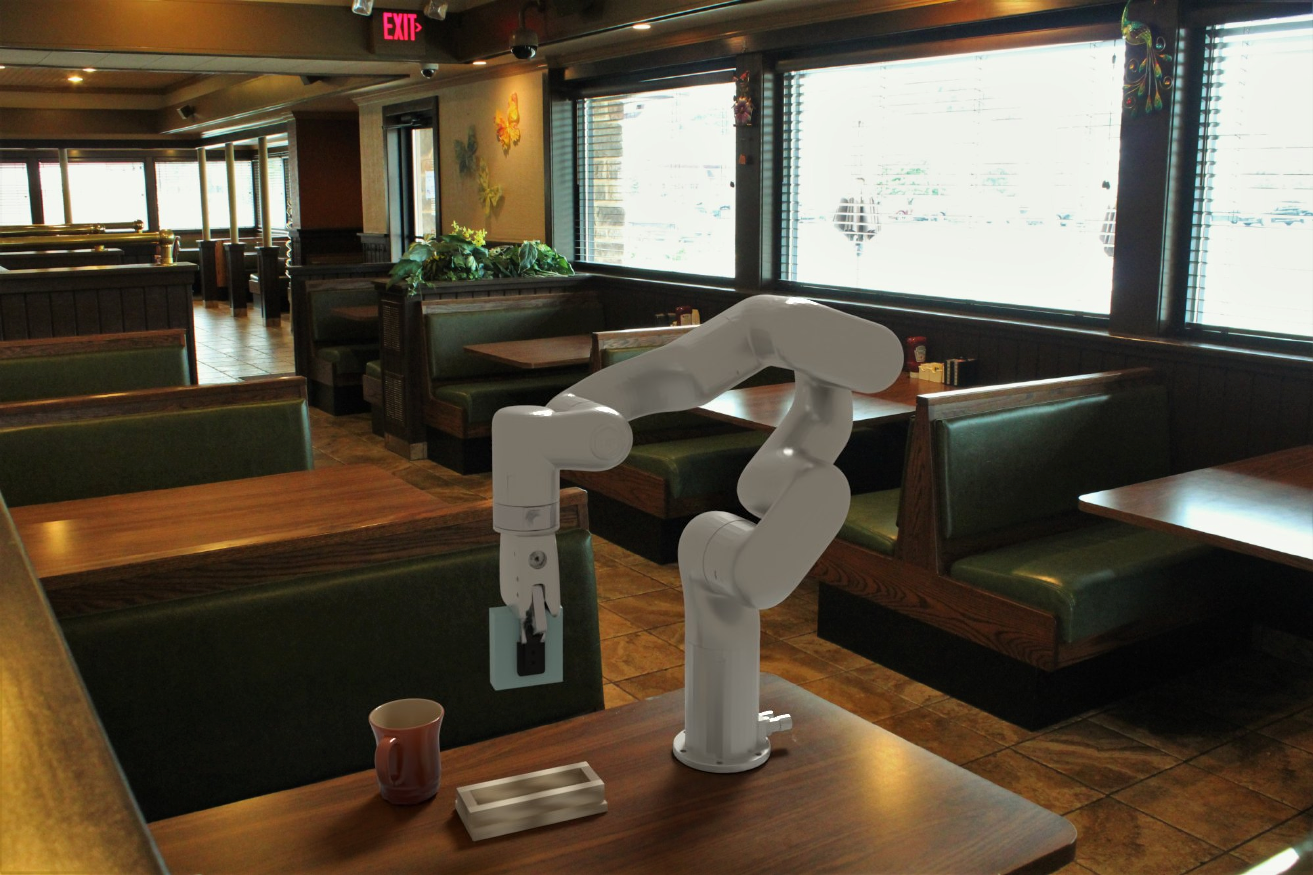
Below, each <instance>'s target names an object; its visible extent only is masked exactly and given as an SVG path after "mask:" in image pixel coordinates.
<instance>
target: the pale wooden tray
mask: <svg viewBox="0 0 1313 875" xmlns="http://www.w3.org/2000/svg"><path fill="white" fill-rule="evenodd" d="M605 794H606V793H605V783H604V781H603V780H602V779H601V778H600V777H599V775H598V774H597V773H596V772H595V771H594V769H593V768H592V767H591V766H590V764H589V763H588V762H587V761H581V762H577V763H571V764H567V765H561V766H557V767H551V768H548V769H547V768H546V769H542V770H538V771H537V770H536V771H533V772H532V771H531V772H529V773H523V774H518V775H514V776H513V775H512V776H509V777H508V776H507V777H504V778H498V779H493V780H489V781H484V782H479V783H474V784H469V785H465V786H459V787H456V800H454V801H455V802H454V803H455V804H454V805H455V809H456V811H457V814H458V815H459V818H460V819H461V821H462V823H463V825H464V827H465V828H466V830H467V832H468V834H469V836H470V838H471V840H472V841H473V842H477V841H481V840H485V839H490V838H494V837H499V836H503V835H508V834H514V833H517V832H521V831H525V830H531V829H534V828H539V827H543V826H548V825H552V824H557V823H562V822H565V821H569V820H574V819H579V818H583V817H587V816H592V815H597V814H601V813H606V812H608V810H609V809H608V807H609V806H608V805H609V804H608V802H607V801H606V798H605V796H606V795H605Z"/></svg>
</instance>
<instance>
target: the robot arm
mask: <svg viewBox="0 0 1313 875" xmlns="http://www.w3.org/2000/svg"><path fill="white" fill-rule="evenodd" d="M904 355H905V354H904V349H903V346H902V343H901V341H900V340H899V338H898V336H897V335H896V334H895V333H894V332H893V330H891V329H889V328H888V327H887V326H884V325H883V324H880V323H877V322H874V321H871V320H868V319H865V318H861V317H859V316H856V315H852V314H849V313H846V312H844V311H841V310H838V309H835V308H833V307H830V306H827V305H824V304H821V303H818V302H815V301H812V300H809V299H806V298H801V297H794V296H783V295H776V294H775V295H773V294H758V295H752V296H750V297H747V298H745V299H743V300H741V301H739V302H737V303H736V304H733V306H731V307H729V308H727V309H726V310H724V311H722V312H721V313H718V314H717V315H716V316H714V317H712V318H709V319H708V320H707V321H706V322H704V323H702V324H700V325H699V326H697V327H695V328H694V329H691V330H689V331H688V332H687V333H685V334H683V335H681V336H680V337H678V338H676V339H675V340H673V341H671V342H669V343H667V344H665V345H663V346H660V347H657V348H653V349H651V350H649V351H645V352H643V353H641V354H639V355H636V356H634V357H631V358H628V359H625V360H623V361H619V362H617V363H615V364H612V365H609V366H607V367H604V368H603V369H600V370H598V371H596V372H594V373H592V374H591V375H589V376H587V377H585V378H584V379H582V380H580V381H578V382H577V383H575V384H573V385H571V386H570V387H568V388H566V389H564V390H563V391H561V392H560V393H559V394H557V395H556V396H554V397H552V399H551V400H549V402H548V403H547V404H546V405H545V406H541V405H513V406H511V405H510V406H506V407H502V408H500V409H497V411H496V412H495V413H494V415H493V417H492V421H491V425H492V426H491V440H492V441H491V444H492V446H491V450H492V453H491V454H492V456H491V458H492V460H491V461H492V464H491V466H492V467H491V468H492V529H493V530H494V531H495V532H497V533H499V534H500V537H499V540H500V541H499V542H500V543H499V544H500V545H499V586H500V587H499V588H500V595H501V598H502V600H503V602H504V604H505V606H508V607H509V609H510V610H511V611H512V612H513V614H514V615H515V616H516V617H517V618H519V638H520V642H517V674H518V675H519V676H521V677H522V676H529V675H537V674H543V673H544V672H545V632H547V623H546V615H545V609H546V610H547V611H548V612H549V613H550V614H551V615H552V616H553V617H558V616H559V615H560V605H561V590H560V589H561V588H560V586H561V585H560V568H559V565H560V564H559V554H558V547H557V546H558V545H557V538H556V532H558V530H559V529H560V526H561V525H560V500H561V498H560V490H561V489H560V481H561V480H560V474H561V472H560V471H561V470H568V471H569V470H570V471H585V472H602V471H603V472H604V471H608V470H611V469H613V468H614V467H617V466H619V465H620V464H621V463H623V462H624V461H625V459H627V457H628V456H629V454H630V452H631V450H632V446H633V442H634V440H633V439H634V438H633V436H634V435H633V430H632V427H631V425H630V424H629V422H630V421H632V420H635V419H638V418H641V417H644V416H648V415H653V414H659V413H667V412H669V413H670V412H681V411H686V410H687V411H688V410H691V409H695V408H700V407H702V406H706V405H707V404H709V403H711V402H713V401H714V400H715V399H716V398H719V397H720V396H722V395H723V394H725V393H726V392H728V391H729V390H731V389H733V388H734V387H736V386H738V385H739V384H741V383H742V382H744V381H746V380H748V378H750V377H752V376H754V375H756V374H758V373H759V372H761V371H762V370H763V369H766V368H767V367H771V366H772V367H776V368H782V369H787V370H792V371H794V379H795V380H794V381H795V382H794V383H795V387H794V388H795V389H794V390H795V391H794V397H793V400H792V403H791V406H790V408H789V410H787V413H786V415H785V416H784V417H783V418H782V420H781V422H780V423H779V424H778V426H777V427H776V428H775V429H774V431H773V432H772V433H771V434H770V435H769V437H767V440H766V441H765V442H764V443H763V444H762V446H761V447H760V448H759V449H758V451H757V452H756V453H755V454H754V456H753V457H752V458H751V459H750V461H749V462H748V463H747V465H746V466H745V468H744V469H743V471H742V472H741V474H740V477H739V479H738V482H737V487H736V493H737V496H738V500H739V502H740V504H741V505H742V506H743V507H744V508H745V509H746V511H748V512H749V513H750V514H752V515H753V516H755V517H757V518H759V519H760V520H759V521H758V523H757V524H756V522H755V523H754V522H753V521H750V520H749V519H745V518H743V517H741V516H738V515H737V514H733V513H730V512H726V511H718V510H714V511H713V510H711V511H707V512H702V513H700V514H699V515H696V516H695V517H694V518H693V519H691V520H690V521H689V522H688V524H687V525H686V526H685V528H684V529H683V531H682V533H681V536H680V538H679V542H678V548H677V559H678V560H677V561H678V567H679V568H678V570H679V574H680V580H681V586H682V592H683V602H684V603H683V604H684V729H683V730H681V731H680V732H679V733H678V734H677V735H675V737H674V739H673V743H672V750H673V751H672V752H673V754H674V757H676V759H677V760H679V761H680V762H681V763H682V764H683V765H686V766H688V767H690V768H693V769H696V770H698V771H703V772H707V773H708V772H709V773H718V774H730V773H739V772H745V771H747V770H751V769H754V768H756V767H759V766H761V765H763V764H764V763H765V762H766V761H767V760H768V759H769V757H770V755H771V746H772V745H771V742H770V740H769V738H768V737H769V736H771V735H772V734H773V733H774V732H782V731H787V730H790V729H792V728H793V719H792V717H791V715H790V714H787V713H786V714H782V715H777V716H775V714H774V713H773V712H774V711H772V710H766V711H762V712H760V658H761V657H760V655H761V654H760V653H761V652H760V648H761V646H760V643H761V642H760V641H761V618H760V617H761V616H760V615H761V614H760V610H768V609H771V608H773V607H775V606H778V604H780V603H783V601H784V600H786V599H787V597H789V596H790V595H791V594H792V593H793V591H794V590H795V589H797V587H798V586H799V584H800V583H801V582H802V581H803V579H804V578H805V577H806V576H807V574H808V573H809V572H810V570H811V569H812V568H813V566H814V565H815V563H816V562H817V561H818V560H819V558H820V557H821V556H822V555H823V553H824V552H825V551H826V549H827V547H828V546H829V545H830V544H831V543H832V541H833V540H834V539H835V537H836V536H837V534H838V533H839V531H840V530H841V529H842V526H843V525H844V523H845V521H846V519H847V517H848V513H849V509H850V505H851V488H850V485H849V481H848V479H847V477H846V476H845V474H844V473H843V472H842V470H841V469H840V468H839V467H838V466H836V465H834V464H835V462H836V460H837V459H838V457H839V455H840V454H841V453H842V452H843V450H844V448H845V447H846V446H847V443H848V441H849V440H850V437H851V433H852V430H853V426H854V406H853V405H854V404H853V393H852V392H857V393H863V394H875V393H879V392H882V391H884V390H887V388H889V387H891V386H892V385H893V384H894V383H895V382H896V380H897V379H898V378H899V376H900V375H901V372H902V369H903V367H904V361H905V360H904V358H905V357H904ZM526 612H532V615H526ZM530 622H533V623H532V625H528V627H527V629H526V623H530Z"/></svg>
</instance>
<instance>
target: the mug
mask: <svg viewBox="0 0 1313 875" xmlns="http://www.w3.org/2000/svg"><path fill="white" fill-rule="evenodd" d="M444 715H445V709H444V707H443V706H442V705H441V704H440V703H438V702H436V701H434V700H431V699H427V698H425V699H424V698H405V699H404V698H403V699H397V700H393V701H389V702H386V703H383V704H381V705H379V706H377V707H376V708H374V709H373V710H371V712H370V713H369V715H368V722H369V725H370V726H371V730H372V731H373V736H374V738H375V742H376V749H375V753H374V766H375V767H374V768H375V772H376V778H377V783H378V785H379V790H380V795H381V796H382V797H383V799H385V800H386V801H387V802H389V803H391V804H395V805H402V806H409V805H410V806H411V805H416V804H417V805H418V804H420V803H422V802H423V803H424V802H425V801H427V800H429V799H430V798H432V797H433V796H434V795H436V793H438V791H439V790H440V786H441V785H440V784H441V780H442V778H441V776H442V767H441V766H442V765H441V762H442V761H441V752H440V730H441V726H442V722H443V718H444Z"/></svg>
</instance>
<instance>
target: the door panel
mask: <svg viewBox="0 0 1313 875" xmlns="http://www.w3.org/2000/svg"><path fill="white" fill-rule="evenodd" d="M488 610H489V614H488V616H489V683H490V684H491V686H492V687H493V689H494V690H495V691H502V690H508V689H509V690H510V689H517V688H523V687H533V686H539V685H546V684H548V685H549V684H554V683H562V682H564V679H563V677H564V675H563V674H564V670H563V668H564V667H563V666H564V665H563V663H564V658H563V657H564V654H563V652H564V651H563V650H564V649H563V648H564V647H563V646H564V645H563V644H564V640H563V638H564V632H563V631H564V630H563V629H564V623H563V622H564V621H563V620H564V610H563V607H562V605H561V604H560V615H559V616H558V617H553V616H552V615H551V614H550V613H549V612H548V611H547V610H546V609H545V615H546V623H547V632H545V672H544V673H543V674H537V675H529V676H522V677H521V676H519V675H518V674H517V642H520V638H519V618H517V617H516V616H515V615H514V614H513V612H512V611H511V610H510V609H509V607H508V606H507V605H505V606H498V607H497V606H496V607H489V609H488ZM526 615H532V612H526ZM532 623H533V622H530V623H526V629H527V627H528V625H532Z"/></svg>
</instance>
